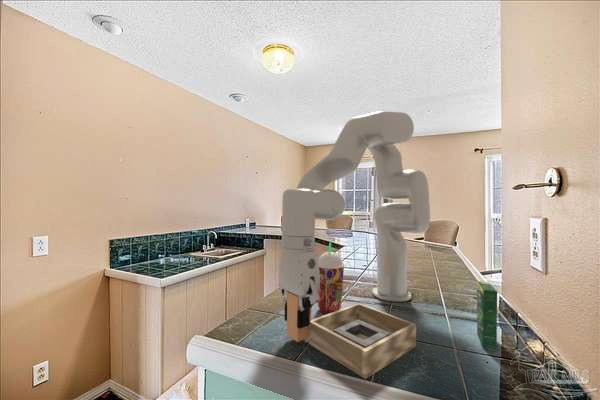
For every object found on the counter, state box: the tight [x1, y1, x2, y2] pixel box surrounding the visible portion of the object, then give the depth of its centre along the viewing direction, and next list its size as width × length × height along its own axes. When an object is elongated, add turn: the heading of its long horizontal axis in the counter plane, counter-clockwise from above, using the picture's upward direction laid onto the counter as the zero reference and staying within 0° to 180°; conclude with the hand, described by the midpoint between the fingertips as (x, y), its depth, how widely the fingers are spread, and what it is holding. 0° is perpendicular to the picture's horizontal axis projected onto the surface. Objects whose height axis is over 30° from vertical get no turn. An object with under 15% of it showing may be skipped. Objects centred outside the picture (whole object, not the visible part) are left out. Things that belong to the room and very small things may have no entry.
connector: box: [286, 292, 312, 343], centre depth 63 cm, size 4×4×11 cm
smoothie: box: [317, 242, 345, 315], centre depth 81 cm, size 8×8×20 cm
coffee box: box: [476, 281, 498, 352], centre depth 64 cm, size 8×3×13 cm, turn 155°
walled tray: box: [307, 302, 417, 380], centre depth 62 cm, size 18×16×5 cm
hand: (296, 322), depth 63 cm, fingers closed on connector, 4 cm apart
